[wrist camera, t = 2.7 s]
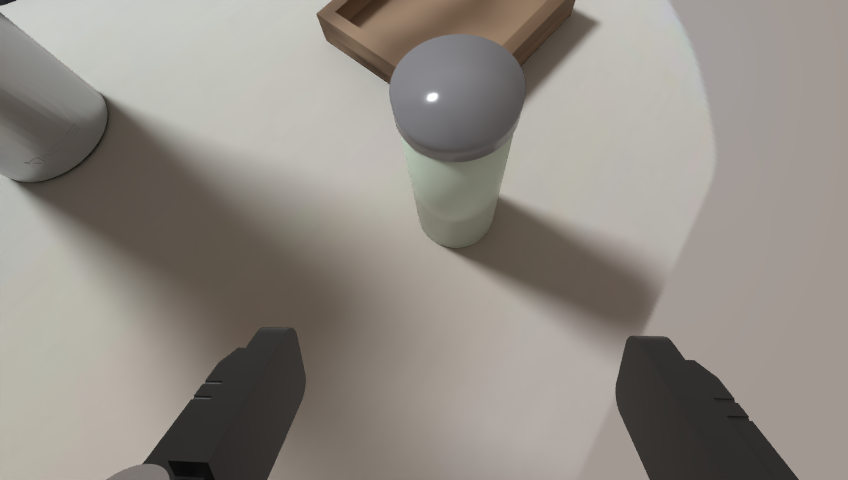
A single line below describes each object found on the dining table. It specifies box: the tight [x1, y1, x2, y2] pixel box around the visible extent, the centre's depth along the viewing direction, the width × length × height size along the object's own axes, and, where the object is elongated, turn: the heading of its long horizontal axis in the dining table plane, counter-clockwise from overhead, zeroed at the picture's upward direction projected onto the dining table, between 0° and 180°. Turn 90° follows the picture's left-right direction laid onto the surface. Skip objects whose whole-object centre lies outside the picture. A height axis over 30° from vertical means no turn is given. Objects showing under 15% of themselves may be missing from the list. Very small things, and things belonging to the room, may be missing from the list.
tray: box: [317, 0, 575, 84], centre depth 31 cm, size 14×14×2 cm
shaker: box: [389, 34, 526, 248], centre depth 21 cm, size 5×5×12 cm
